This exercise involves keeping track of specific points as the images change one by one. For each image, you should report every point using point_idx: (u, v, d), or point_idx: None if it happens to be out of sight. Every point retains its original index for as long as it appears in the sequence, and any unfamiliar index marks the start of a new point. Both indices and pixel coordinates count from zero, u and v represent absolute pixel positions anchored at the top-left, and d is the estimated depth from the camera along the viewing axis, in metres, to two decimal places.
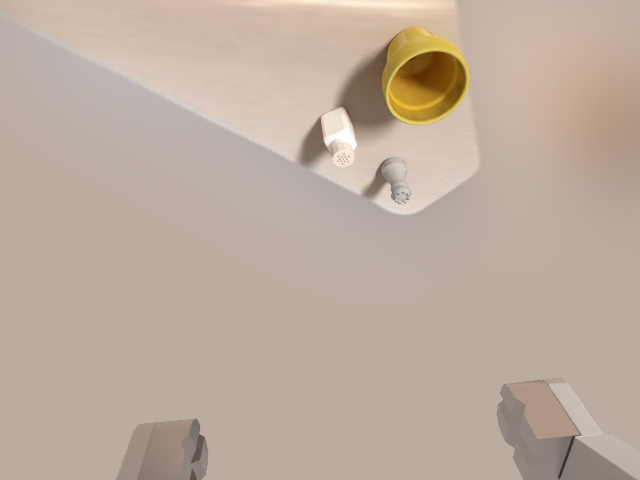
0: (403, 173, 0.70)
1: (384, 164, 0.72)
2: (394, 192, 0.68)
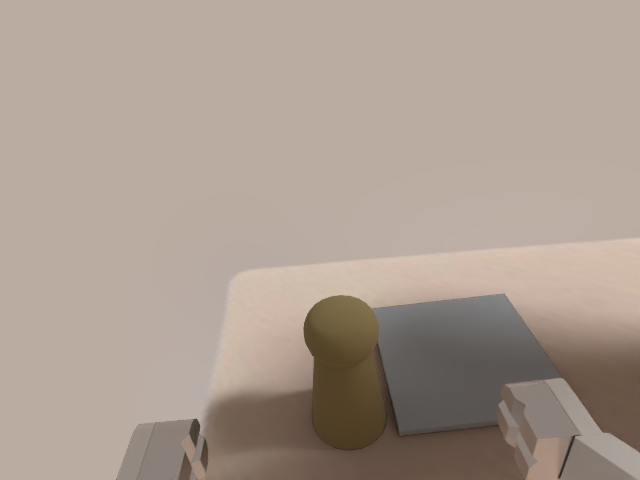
0: None
1: None
2: None
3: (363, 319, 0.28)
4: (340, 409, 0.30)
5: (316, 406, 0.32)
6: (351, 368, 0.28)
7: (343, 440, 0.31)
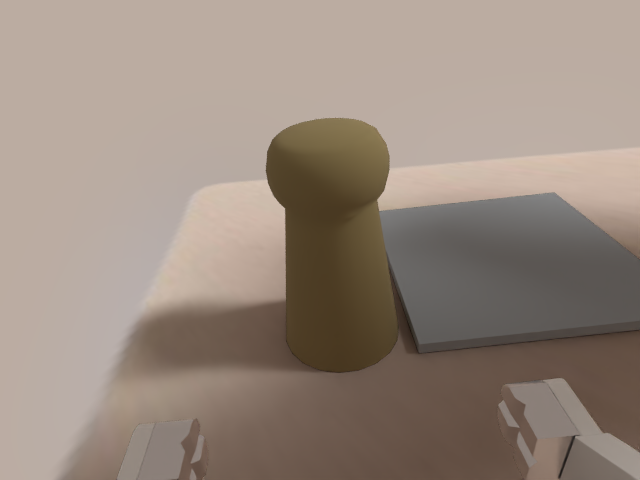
0: None
1: None
2: None
3: (364, 133, 0.16)
4: (325, 299, 0.19)
5: (289, 305, 0.20)
6: (343, 221, 0.17)
7: (331, 356, 0.20)
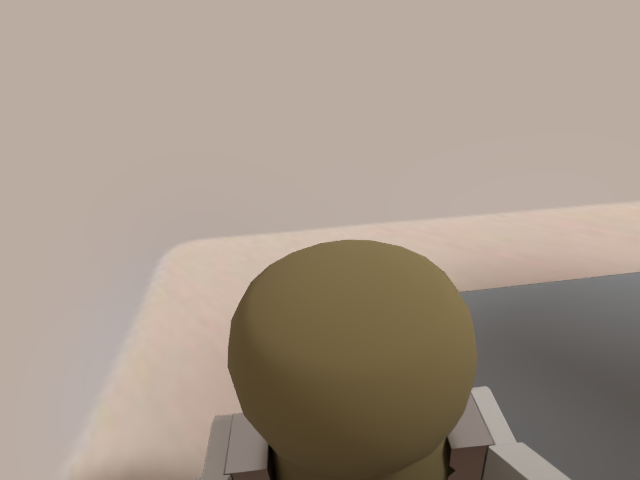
0: None
1: None
2: None
3: (433, 307, 0.08)
4: None
5: None
6: (388, 474, 0.08)
7: None
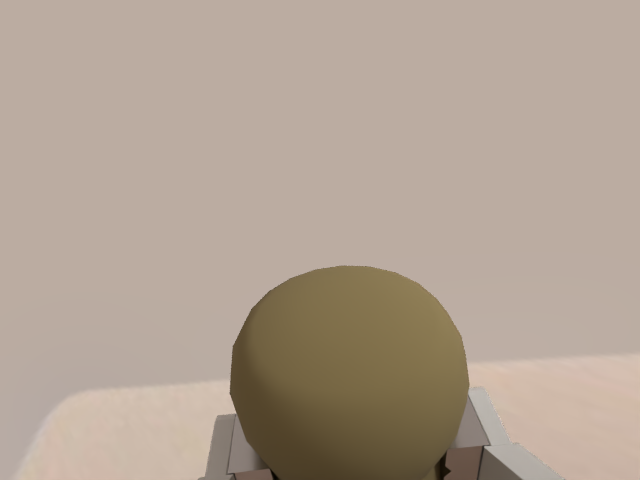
0: None
1: None
2: None
3: (427, 337, 0.08)
4: None
5: None
6: None
7: None
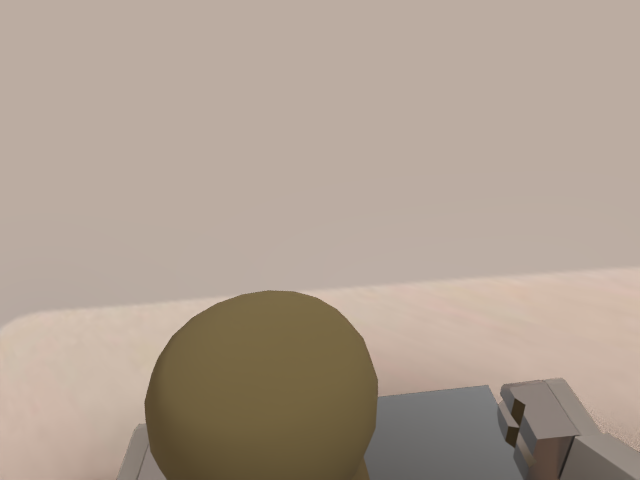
0: None
1: None
2: None
3: (330, 366, 0.08)
4: None
5: None
6: None
7: None
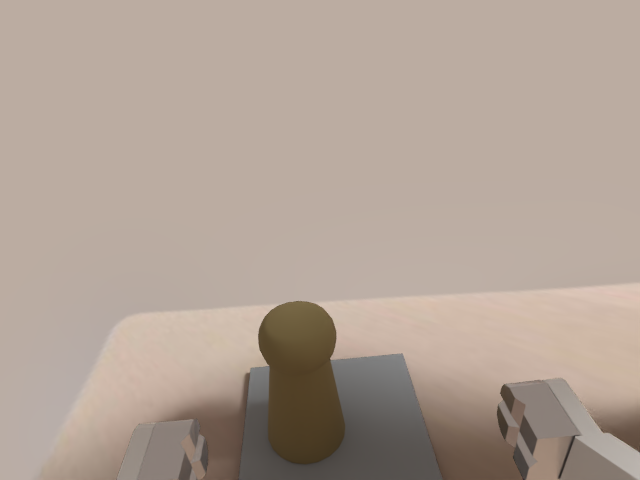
0: None
1: None
2: None
3: (320, 324, 0.27)
4: (296, 420, 0.29)
5: (271, 419, 0.30)
6: (307, 376, 0.27)
7: (300, 454, 0.30)
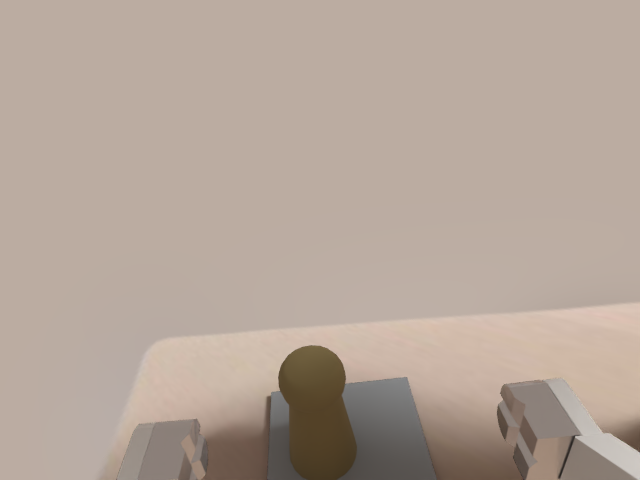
0: None
1: None
2: None
3: (331, 370, 0.31)
4: (314, 448, 0.33)
5: (292, 445, 0.35)
6: (322, 412, 0.32)
7: (318, 475, 0.35)
